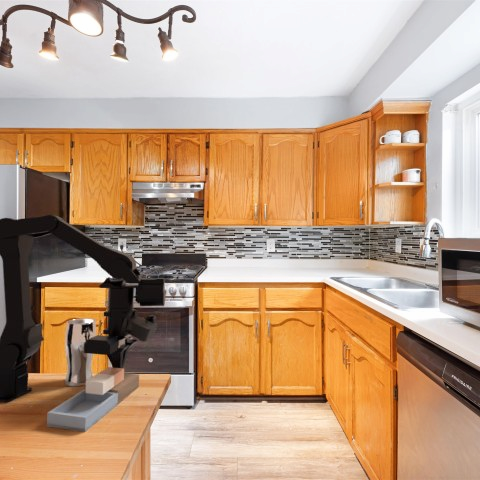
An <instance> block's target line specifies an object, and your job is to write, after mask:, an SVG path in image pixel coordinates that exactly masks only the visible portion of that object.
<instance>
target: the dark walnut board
mask: <svg viewBox="0 0 480 480" xmlns="http://www.w3.org/2000/svg"><path fill="white" fill-rule="evenodd" d="M139 387H140V374H139V373H138V374H137V373H130V372H129V373H128V372H124V380H122V381H121V382H120V383H118V384H117V385H115V386H114V387H113V388H111V389H110V390H109V391H107V392H116V393H118V405H119V404H120V403H122V402H123V401H124V400H126V398H128V397H129V396H130V395H131V394H132V393H133V392H135V391H136V390H137V389H138V388H139ZM84 389H86V385H85V386H84Z"/></svg>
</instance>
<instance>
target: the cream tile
mask: <svg viewBox="0 0 480 480" xmlns="http://www.w3.org/2000/svg"><path fill="white" fill-rule="evenodd" d="M85 386H86V391H85V393H91V394H99V395H103V394H105V393H106V392H107V391H109V390H110V389H111V388H113V387H114V375H108V374H98V373H96V374H94V375H92V377H91V378H90V379H88V380H86V384H85Z"/></svg>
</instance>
